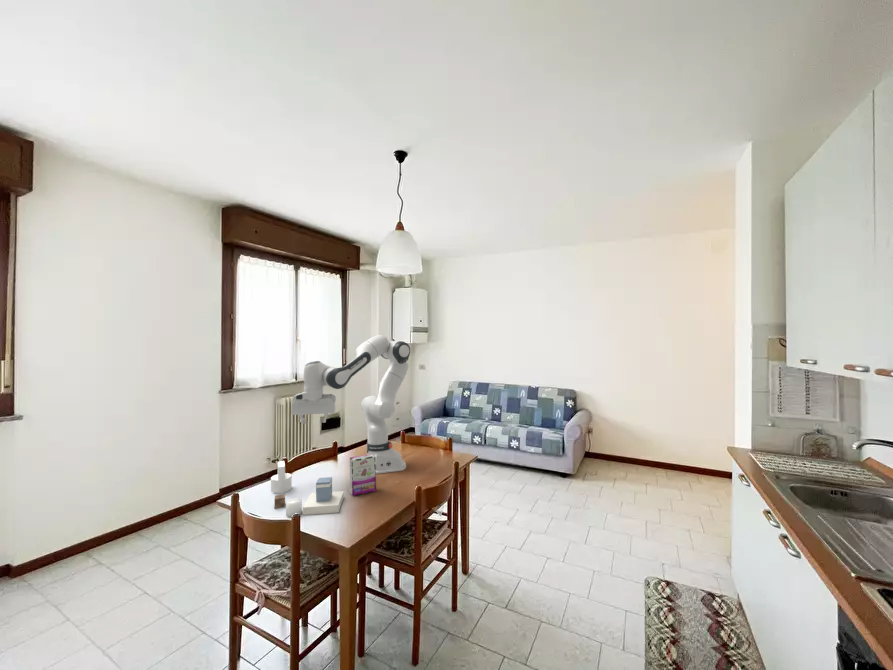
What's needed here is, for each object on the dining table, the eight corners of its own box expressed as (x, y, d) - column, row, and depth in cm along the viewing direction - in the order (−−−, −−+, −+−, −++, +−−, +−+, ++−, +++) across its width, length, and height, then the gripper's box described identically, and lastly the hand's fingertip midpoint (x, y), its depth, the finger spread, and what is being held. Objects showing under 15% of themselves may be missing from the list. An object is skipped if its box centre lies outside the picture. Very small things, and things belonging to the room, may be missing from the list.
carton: (332, 495, 158) (332, 477, 158) (329, 501, 153) (329, 482, 153) (319, 496, 158) (318, 477, 158) (316, 502, 152) (315, 482, 152)
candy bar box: (373, 487, 174) (372, 453, 174) (376, 491, 169) (376, 456, 169) (349, 492, 168) (349, 456, 169) (352, 496, 164) (351, 460, 164)
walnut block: (285, 503, 158) (285, 494, 158) (284, 507, 155) (284, 497, 155) (275, 504, 157) (275, 495, 157) (274, 508, 153) (274, 499, 153)
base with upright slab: (292, 490, 171) (292, 465, 171) (270, 494, 167) (270, 468, 167) (291, 484, 179) (290, 459, 179) (270, 487, 175) (270, 462, 175)
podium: (343, 497, 163) (343, 490, 163) (338, 512, 149) (338, 505, 149) (311, 499, 161) (311, 492, 161) (302, 514, 147) (302, 507, 147)
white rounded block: (303, 509, 152) (303, 497, 152) (299, 516, 146) (299, 504, 146) (288, 510, 151) (288, 498, 151) (284, 517, 145) (283, 505, 145)
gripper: (336, 392, 182) (337, 420, 182) (293, 394, 179) (294, 422, 179) (334, 394, 176) (334, 423, 176) (290, 396, 173) (290, 425, 173)
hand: (314, 422), depth 178 cm, fingers open, 8 cm apart
